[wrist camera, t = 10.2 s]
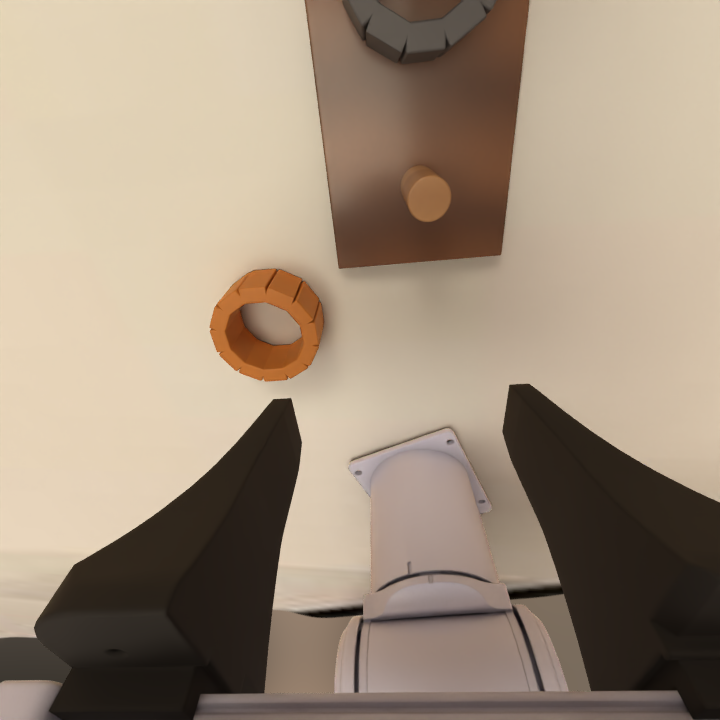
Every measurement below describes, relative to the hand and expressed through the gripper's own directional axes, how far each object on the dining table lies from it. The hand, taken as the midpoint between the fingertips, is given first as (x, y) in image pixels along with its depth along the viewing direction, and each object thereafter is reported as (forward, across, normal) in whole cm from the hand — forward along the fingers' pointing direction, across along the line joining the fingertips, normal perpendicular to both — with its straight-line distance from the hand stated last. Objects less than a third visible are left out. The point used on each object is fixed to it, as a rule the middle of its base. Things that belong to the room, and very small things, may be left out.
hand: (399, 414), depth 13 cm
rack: (+9, -2, -9) cm, 13 cm away
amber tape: (+9, +6, 0) cm, 11 cm away
